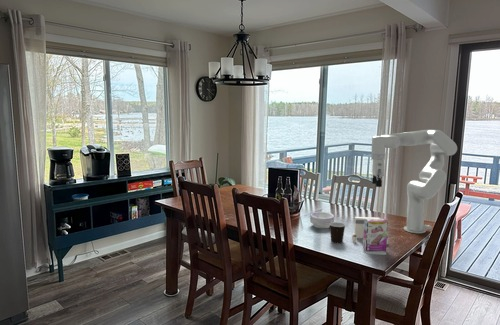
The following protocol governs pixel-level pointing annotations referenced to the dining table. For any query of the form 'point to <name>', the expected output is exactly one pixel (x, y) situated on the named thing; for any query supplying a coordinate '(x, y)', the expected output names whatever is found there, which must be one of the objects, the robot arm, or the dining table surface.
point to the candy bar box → (375, 234)
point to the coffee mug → (337, 232)
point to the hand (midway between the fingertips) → (376, 185)
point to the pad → (376, 252)
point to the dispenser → (360, 228)
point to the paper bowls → (321, 219)
